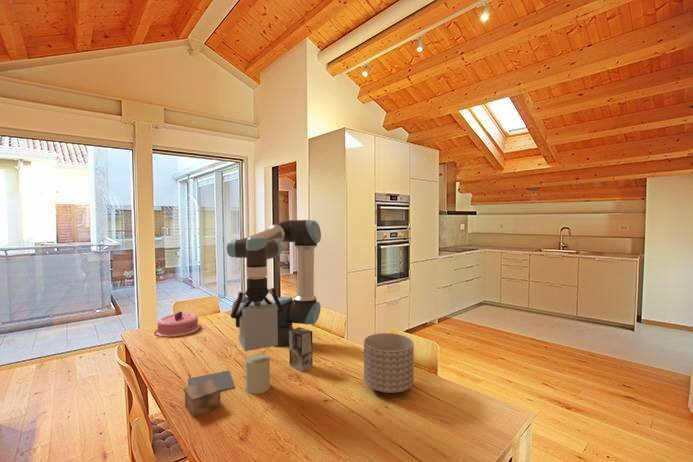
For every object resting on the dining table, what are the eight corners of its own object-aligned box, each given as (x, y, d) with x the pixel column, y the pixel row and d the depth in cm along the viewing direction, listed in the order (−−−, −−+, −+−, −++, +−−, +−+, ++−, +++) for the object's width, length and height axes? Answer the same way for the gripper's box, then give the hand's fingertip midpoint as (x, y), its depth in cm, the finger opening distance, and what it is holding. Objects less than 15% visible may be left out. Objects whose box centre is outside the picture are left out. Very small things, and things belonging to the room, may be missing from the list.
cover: (269, 335, 137) (269, 295, 136) (277, 345, 126) (277, 302, 125) (238, 340, 131) (238, 299, 130) (244, 351, 120) (243, 306, 119)
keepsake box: (211, 395, 123) (211, 379, 123) (221, 406, 116) (221, 389, 115) (183, 405, 116) (183, 388, 116) (192, 417, 109) (192, 399, 109)
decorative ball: (227, 322, 209) (226, 299, 209) (238, 315, 224) (238, 293, 224) (249, 323, 207) (249, 300, 206) (259, 316, 222) (259, 294, 221)
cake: (189, 338, 183) (188, 319, 183) (144, 338, 183) (143, 318, 183) (208, 323, 208) (208, 307, 208) (168, 323, 208) (168, 306, 208)
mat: (229, 371, 143) (229, 370, 143) (234, 387, 129) (234, 387, 129) (187, 379, 136) (187, 378, 136) (189, 398, 121) (189, 397, 121)
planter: (381, 406, 116) (381, 355, 115) (355, 382, 133) (355, 337, 132) (423, 393, 125) (424, 345, 124) (394, 372, 142) (394, 330, 141)
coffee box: (313, 367, 146) (313, 331, 146) (301, 372, 142) (301, 334, 141) (300, 361, 153) (299, 326, 152) (288, 365, 148) (288, 330, 147)
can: (263, 395, 123) (263, 363, 123) (241, 392, 125) (240, 361, 125) (274, 383, 132) (273, 353, 132) (252, 381, 134) (252, 351, 134)
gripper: (285, 273, 136) (285, 324, 137) (221, 278, 125) (223, 334, 126) (290, 276, 129) (291, 330, 130) (224, 281, 118) (225, 341, 119)
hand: (257, 332), depth 128 cm, fingers closed on cover, 12 cm apart
